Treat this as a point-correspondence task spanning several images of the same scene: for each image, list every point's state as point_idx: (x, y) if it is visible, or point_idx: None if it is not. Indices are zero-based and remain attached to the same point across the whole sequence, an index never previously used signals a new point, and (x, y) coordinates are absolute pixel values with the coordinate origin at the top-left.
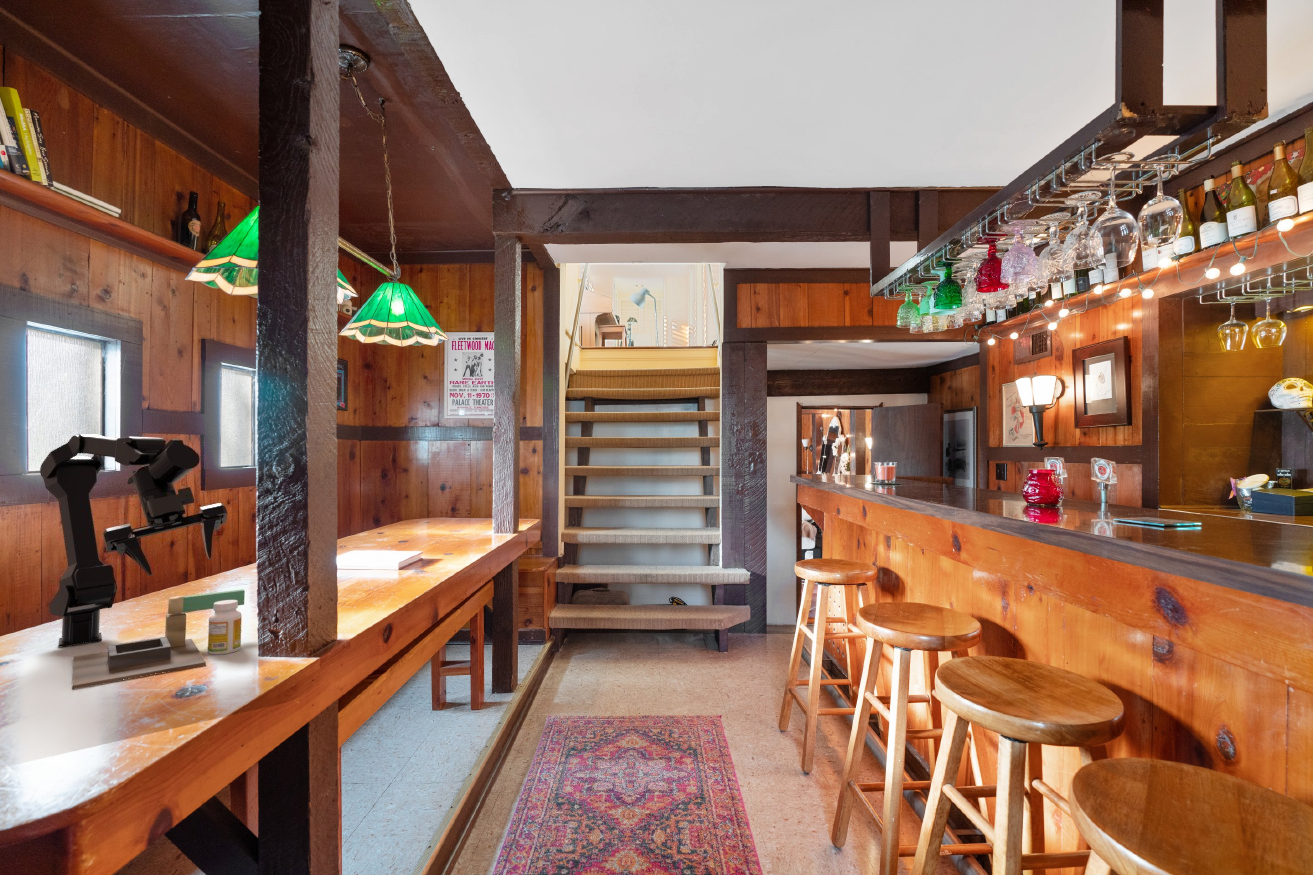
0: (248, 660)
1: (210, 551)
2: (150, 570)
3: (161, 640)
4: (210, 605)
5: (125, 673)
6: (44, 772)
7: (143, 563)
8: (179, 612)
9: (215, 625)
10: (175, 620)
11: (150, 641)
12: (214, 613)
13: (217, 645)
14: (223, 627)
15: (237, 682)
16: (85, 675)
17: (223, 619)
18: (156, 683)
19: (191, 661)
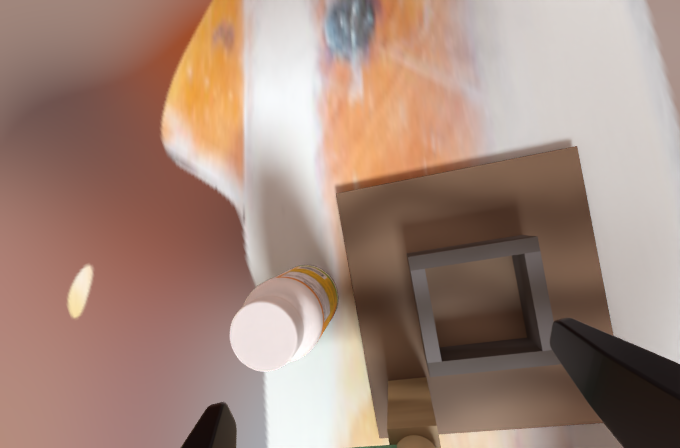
0: (261, 187)
1: (188, 444)
2: (574, 331)
3: (436, 337)
4: None
5: (484, 188)
6: None
7: (670, 364)
8: (405, 437)
9: (307, 282)
10: (414, 418)
11: (462, 357)
12: (303, 320)
13: (314, 270)
14: (290, 274)
15: (277, 38)
16: (565, 217)
17: (283, 279)
18: (416, 106)
19: (363, 215)
